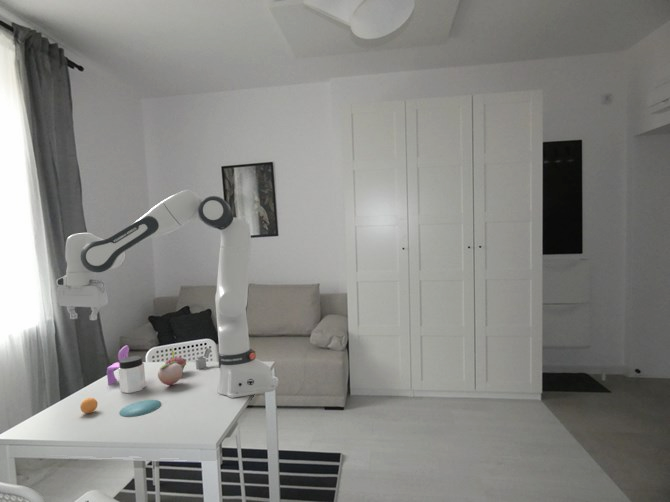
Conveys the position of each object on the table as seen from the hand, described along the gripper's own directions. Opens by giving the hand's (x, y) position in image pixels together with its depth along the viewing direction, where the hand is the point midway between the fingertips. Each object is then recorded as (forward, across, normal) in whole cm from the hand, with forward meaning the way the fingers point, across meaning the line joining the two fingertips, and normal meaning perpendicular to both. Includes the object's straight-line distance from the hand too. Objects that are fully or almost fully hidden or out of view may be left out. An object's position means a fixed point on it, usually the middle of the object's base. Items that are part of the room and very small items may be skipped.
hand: (83, 319), depth 139 cm
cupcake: (+31, -6, -36) cm, 48 cm away
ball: (+29, -4, +2) cm, 29 cm away
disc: (+31, -19, -5) cm, 37 cm away
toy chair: (+32, +11, -24) cm, 41 cm away
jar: (+31, -1, -19) cm, 36 cm away
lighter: (+30, -13, -47) cm, 57 cm away
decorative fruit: (+31, -15, -25) cm, 42 cm away
